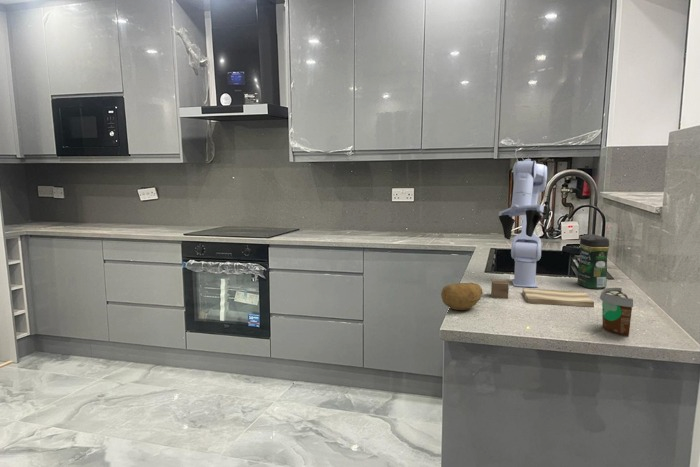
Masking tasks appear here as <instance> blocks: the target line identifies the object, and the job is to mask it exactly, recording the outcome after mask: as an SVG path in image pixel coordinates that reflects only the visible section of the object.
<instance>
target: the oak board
mask: <svg viewBox="0 0 700 467" xmlns="http://www.w3.org/2000/svg"><path fill="white" fill-rule="evenodd" d="M522 294H523V297H524V299H525V300H526V302H527V304H534V305H535V304H536V305H537V304H538V305H551V306H552V305H554V306H555V305H556V306H567V307H568V306H569V307H570V306H571V307H584V308H585V307H587V308H594V307H595V302H594V300H592V298H591V297H589V295H587V293H586V292H585V291H581V290H579V291H578V290H562V289H560V290H559V289H541V288H526V287H522Z"/></svg>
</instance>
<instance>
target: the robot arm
mask: <svg viewBox="0 0 700 467" xmlns="http://www.w3.org/2000/svg"><path fill="white" fill-rule="evenodd" d="M512 174H513V179H512V180H513V188H512V198H511V199H512V200H511V205H510V207H509V208H506V209H504V210H500V211H499V212H498V219H499V221H500V223H501V226H502V231H503V236H504V237H503V238H504V239H506V240H510V239H511V236H512V230H513V228H514V223H515V221H516V219H514V218H513V217H517V216H518V217H519V216H522V224H521V232H519V233H518V234H516V235H515V236H513V237H512V238H513V239H512V243H511V247H510V249H511V250H510V256H511V258H512V260H513V259H514V277H513V278H514V279H513V278H512V279H511V282H512V284H513V286H514V287H522V288H538V287H539V286H538V284H537V282H536V277H537V275H536V274H537V262H538V261H540V259H541V257H542V240H541V238H540V237H539V236H538V235H536V234H535V231H536V230H535V229H536V227H537V225H538V224H539V223H540V221H541V220H542V219H543V216H542V215H541V214H542V213H543V214H544V209H545V207H544V206H543V205H542V204H538V200H539V196H540V194H541V193H542V192H544V191H546V188H547V179H548V166H547V165H546V164H545V165H544V164H543V163H542V164H541V163H537V162H536V160H532V159H531V158H526V159H523V160H520V161H519V160H518V161H517V162H514V165H513V173H512Z"/></svg>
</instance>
